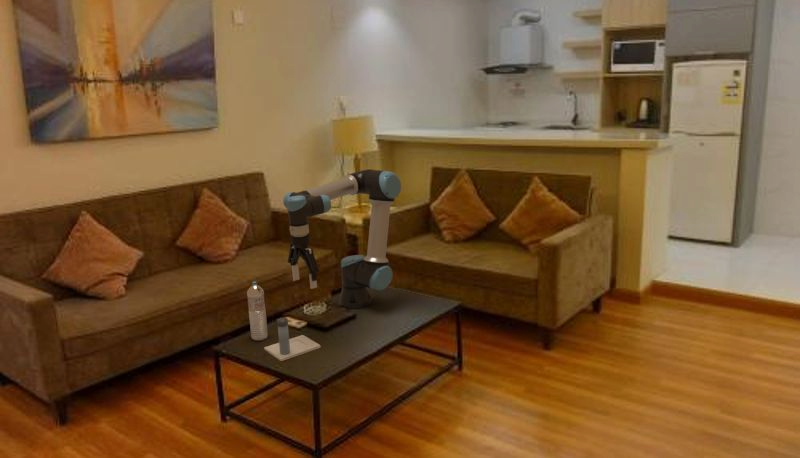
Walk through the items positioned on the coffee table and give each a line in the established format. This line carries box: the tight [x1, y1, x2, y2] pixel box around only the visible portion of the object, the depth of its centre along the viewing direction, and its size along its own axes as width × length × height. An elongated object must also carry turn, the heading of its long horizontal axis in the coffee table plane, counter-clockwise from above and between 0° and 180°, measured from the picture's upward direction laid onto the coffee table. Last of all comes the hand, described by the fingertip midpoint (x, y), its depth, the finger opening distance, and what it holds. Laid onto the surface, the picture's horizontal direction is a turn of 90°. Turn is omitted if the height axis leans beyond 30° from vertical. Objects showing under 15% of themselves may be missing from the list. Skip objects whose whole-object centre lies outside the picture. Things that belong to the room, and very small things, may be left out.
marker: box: [276, 317, 290, 355], centre depth 246 cm, size 4×4×14 cm
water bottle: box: [246, 280, 269, 342], centre depth 262 cm, size 7×7×25 cm
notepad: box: [263, 334, 321, 362], centre depth 253 cm, size 18×14×1 cm
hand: (305, 283), depth 257 cm, fingers open, 13 cm apart
